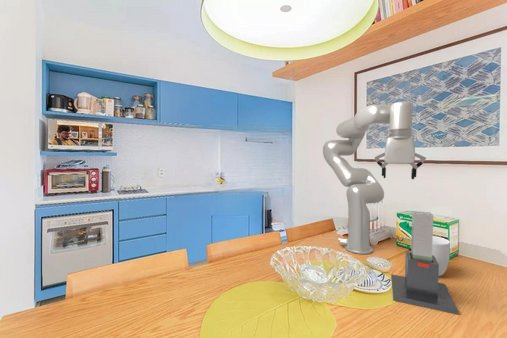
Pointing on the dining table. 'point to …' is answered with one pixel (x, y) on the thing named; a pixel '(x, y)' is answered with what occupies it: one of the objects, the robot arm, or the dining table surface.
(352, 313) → the dining table surface
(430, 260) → the post
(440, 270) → the mug
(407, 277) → the stand
